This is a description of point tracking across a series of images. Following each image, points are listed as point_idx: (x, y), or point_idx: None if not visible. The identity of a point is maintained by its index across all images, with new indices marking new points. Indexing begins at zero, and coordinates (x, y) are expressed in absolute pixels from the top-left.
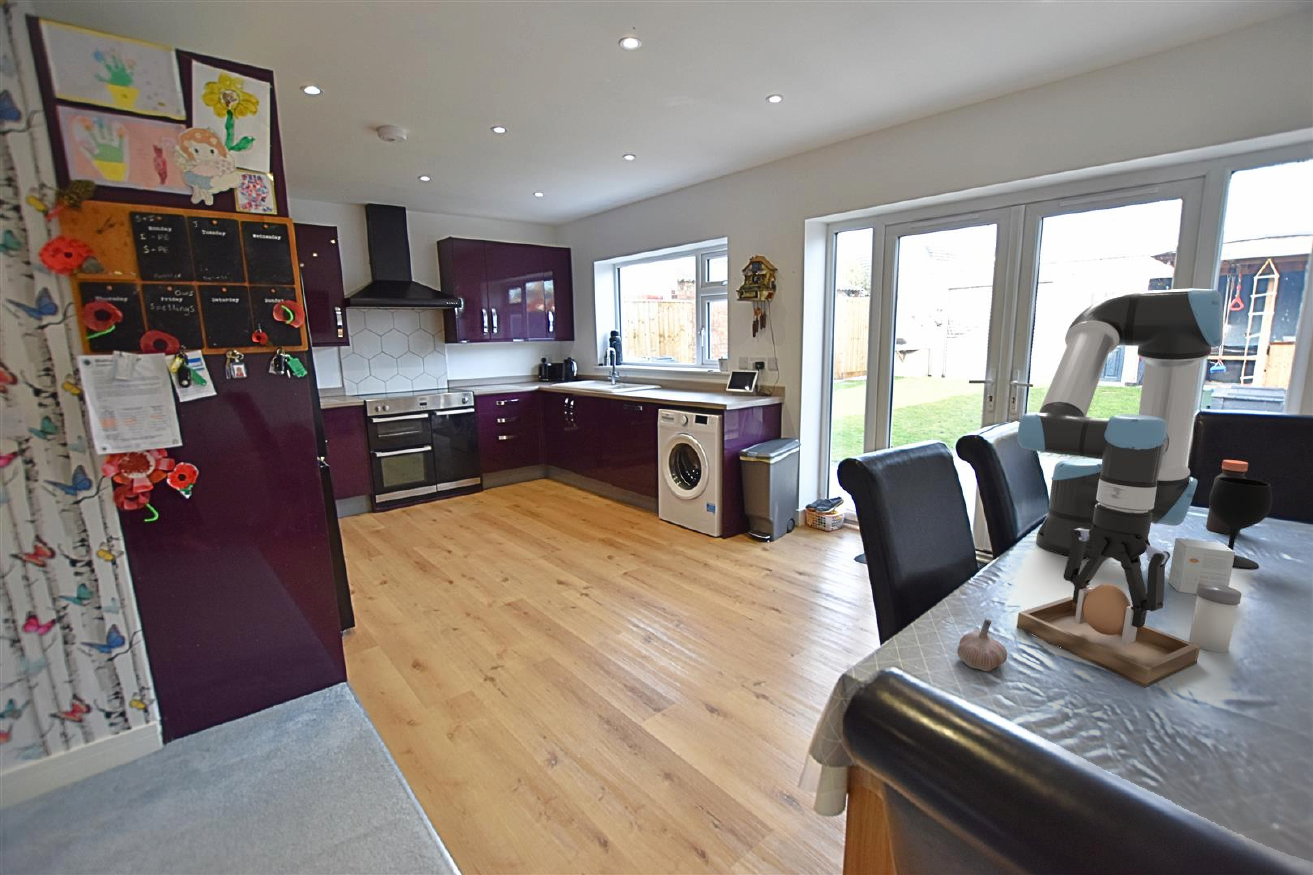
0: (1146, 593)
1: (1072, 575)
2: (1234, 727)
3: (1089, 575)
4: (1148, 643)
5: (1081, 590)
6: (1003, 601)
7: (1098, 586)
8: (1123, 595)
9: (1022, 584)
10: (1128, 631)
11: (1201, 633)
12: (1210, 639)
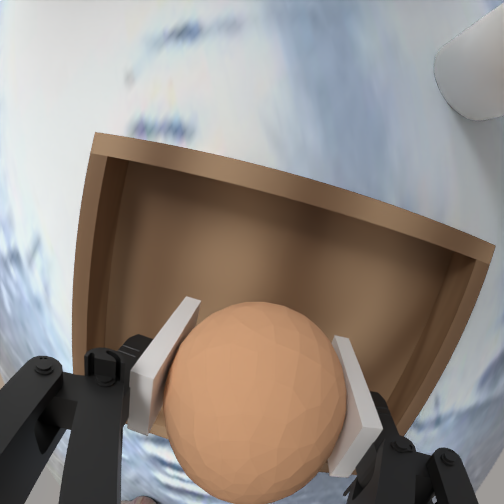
0: (414, 489)
1: (58, 431)
2: (467, 442)
3: (120, 486)
4: (371, 231)
5: (136, 430)
6: (13, 241)
7: (190, 478)
8: (311, 479)
9: (12, 75)
10: None
11: (484, 106)
12: (496, 116)
